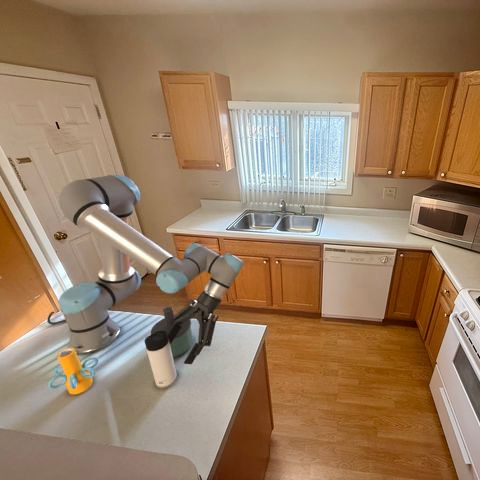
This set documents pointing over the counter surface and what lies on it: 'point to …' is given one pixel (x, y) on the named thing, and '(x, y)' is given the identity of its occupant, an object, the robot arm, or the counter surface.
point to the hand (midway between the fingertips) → (176, 352)
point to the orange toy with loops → (73, 372)
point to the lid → (170, 323)
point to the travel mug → (161, 358)
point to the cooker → (182, 343)
